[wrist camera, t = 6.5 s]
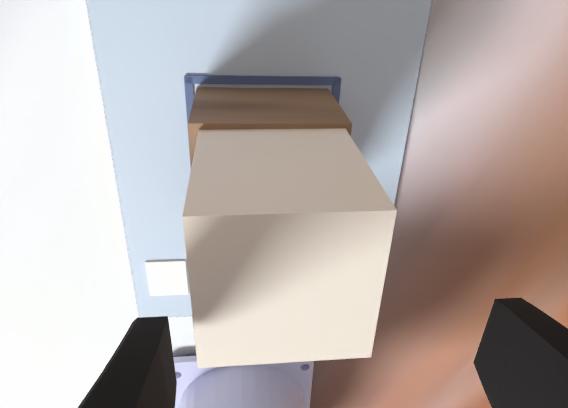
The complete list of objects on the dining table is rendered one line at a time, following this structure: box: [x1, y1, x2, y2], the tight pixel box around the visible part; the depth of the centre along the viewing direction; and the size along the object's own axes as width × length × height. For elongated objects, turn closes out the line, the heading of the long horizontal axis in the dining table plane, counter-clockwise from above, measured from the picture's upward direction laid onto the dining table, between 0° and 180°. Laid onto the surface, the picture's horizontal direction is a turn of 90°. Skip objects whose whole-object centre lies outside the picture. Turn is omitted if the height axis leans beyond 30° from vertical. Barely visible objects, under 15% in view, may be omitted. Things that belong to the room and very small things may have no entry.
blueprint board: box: [86, 0, 432, 318], centre depth 18 cm, size 18×12×1 cm, turn 178°
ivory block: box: [182, 128, 397, 368], centre depth 13 cm, size 4×4×5 cm
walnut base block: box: [188, 87, 352, 167], centre depth 16 cm, size 5×5×4 cm
